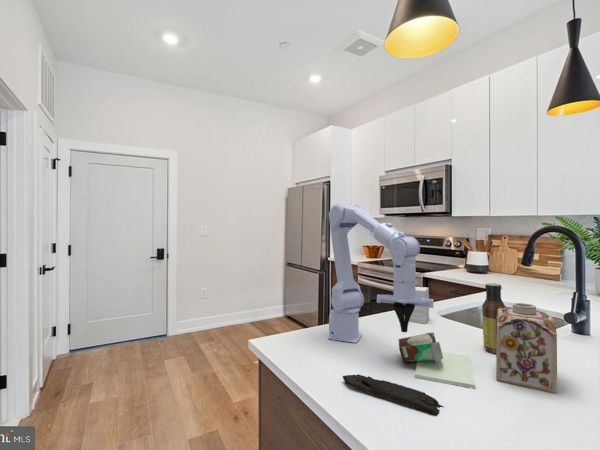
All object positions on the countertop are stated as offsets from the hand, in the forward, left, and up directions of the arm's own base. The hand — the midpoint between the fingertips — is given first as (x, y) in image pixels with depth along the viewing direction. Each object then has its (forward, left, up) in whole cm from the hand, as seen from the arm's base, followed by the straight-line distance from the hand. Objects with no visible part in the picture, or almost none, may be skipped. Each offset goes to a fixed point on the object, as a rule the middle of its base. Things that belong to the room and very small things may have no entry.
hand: (404, 331), depth 87 cm
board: (+10, +1, -8) cm, 13 cm away
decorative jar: (+28, +3, -9) cm, 29 cm away
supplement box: (+1, +42, -9) cm, 43 cm away
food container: (-1, +1, -7) cm, 7 cm away
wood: (-1, -18, -9) cm, 20 cm away
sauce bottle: (+24, +19, -9) cm, 32 cm away
